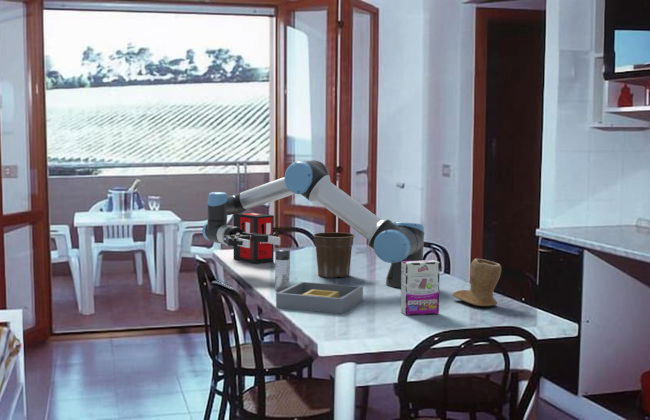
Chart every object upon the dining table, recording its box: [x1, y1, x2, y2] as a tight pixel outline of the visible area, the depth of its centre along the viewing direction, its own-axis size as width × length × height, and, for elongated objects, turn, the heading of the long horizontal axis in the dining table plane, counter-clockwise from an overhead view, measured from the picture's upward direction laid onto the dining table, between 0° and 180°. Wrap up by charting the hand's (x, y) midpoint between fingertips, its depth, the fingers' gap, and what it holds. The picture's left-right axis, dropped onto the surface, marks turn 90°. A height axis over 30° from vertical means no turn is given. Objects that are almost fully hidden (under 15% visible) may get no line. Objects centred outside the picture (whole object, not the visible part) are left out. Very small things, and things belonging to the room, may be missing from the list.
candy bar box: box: [400, 259, 441, 316], centre depth 253 cm, size 11×5×16 cm, turn 105°
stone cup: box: [452, 258, 502, 307], centre depth 269 cm, size 15×12×15 cm
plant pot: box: [312, 231, 356, 279], centre depth 317 cm, size 16×16×16 cm
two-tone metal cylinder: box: [274, 249, 291, 292], centre depth 286 cm, size 5×5×14 cm
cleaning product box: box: [233, 211, 275, 265], centre depth 349 cm, size 16×9×20 cm, turn 42°
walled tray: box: [275, 281, 364, 314], centre depth 265 cm, size 22×22×4 cm
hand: (264, 242), depth 293 cm, fingers open, 13 cm apart
